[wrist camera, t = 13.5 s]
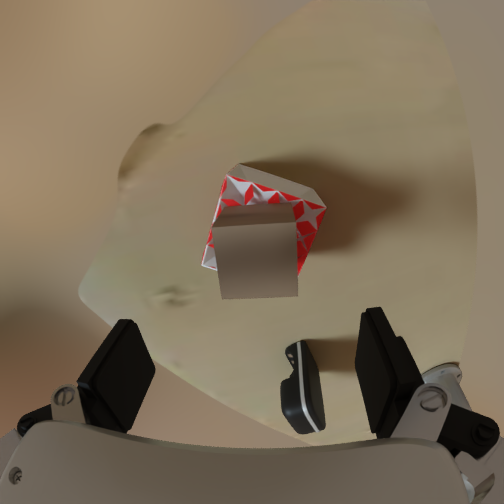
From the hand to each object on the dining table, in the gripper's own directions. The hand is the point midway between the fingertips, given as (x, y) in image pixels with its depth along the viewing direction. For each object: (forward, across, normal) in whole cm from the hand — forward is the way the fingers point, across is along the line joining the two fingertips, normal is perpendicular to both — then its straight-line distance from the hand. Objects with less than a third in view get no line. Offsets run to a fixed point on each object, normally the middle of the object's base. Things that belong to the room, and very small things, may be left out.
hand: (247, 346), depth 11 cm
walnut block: (+12, 0, 0) cm, 12 cm away
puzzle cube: (+20, 0, 0) cm, 20 cm away
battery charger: (+20, -3, +21) cm, 29 cm away
